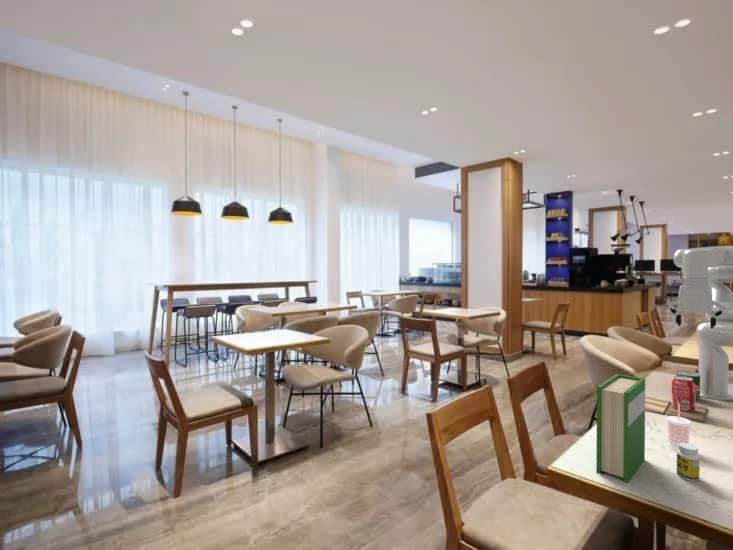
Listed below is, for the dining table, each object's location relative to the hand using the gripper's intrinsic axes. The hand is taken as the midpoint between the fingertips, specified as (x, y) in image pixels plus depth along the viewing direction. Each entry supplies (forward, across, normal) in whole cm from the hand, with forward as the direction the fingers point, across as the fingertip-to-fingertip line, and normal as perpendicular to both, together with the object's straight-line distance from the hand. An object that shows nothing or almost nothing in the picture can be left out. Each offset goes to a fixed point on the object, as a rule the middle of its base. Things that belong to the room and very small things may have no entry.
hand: (695, 326), depth 151 cm
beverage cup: (+31, 0, -43) cm, 53 cm away
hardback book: (+30, -10, -67) cm, 75 cm away
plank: (+33, -2, -7) cm, 33 cm away
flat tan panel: (+32, -12, -7) cm, 35 cm away
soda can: (+31, -3, -6) cm, 32 cm away
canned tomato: (+34, -4, +14) cm, 37 cm away
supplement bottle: (+30, +4, -62) cm, 69 cm away
